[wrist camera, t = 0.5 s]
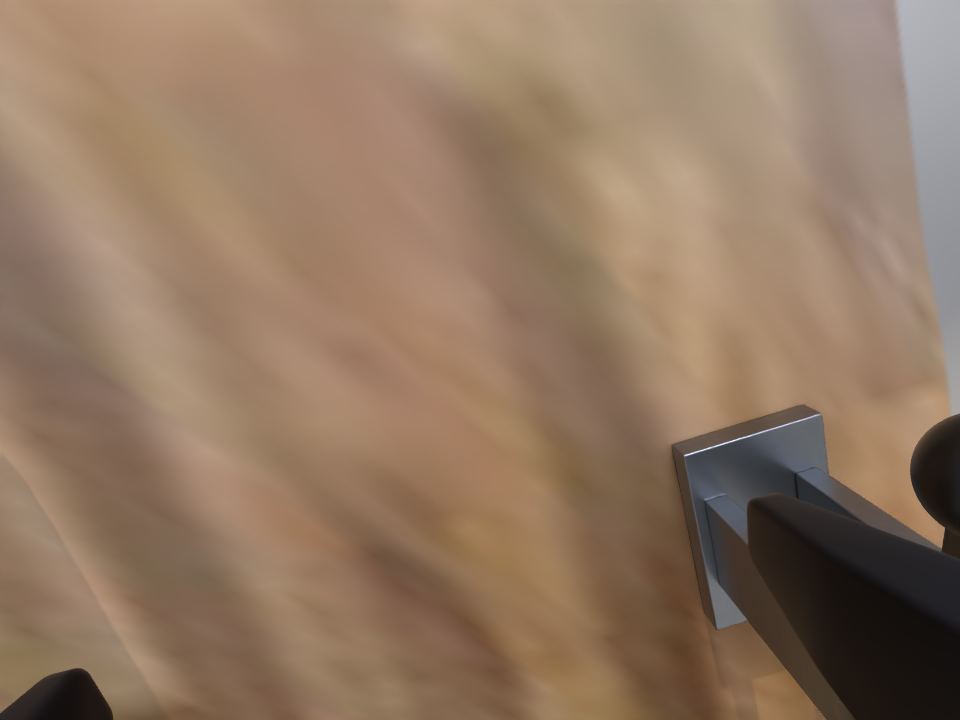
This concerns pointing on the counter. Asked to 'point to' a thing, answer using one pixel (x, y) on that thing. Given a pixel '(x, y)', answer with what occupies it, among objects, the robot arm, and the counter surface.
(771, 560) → the robot arm
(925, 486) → the ball knob lever
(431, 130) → the counter surface
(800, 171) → the counter surface
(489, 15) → the counter surface
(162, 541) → the counter surface
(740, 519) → the bracket
